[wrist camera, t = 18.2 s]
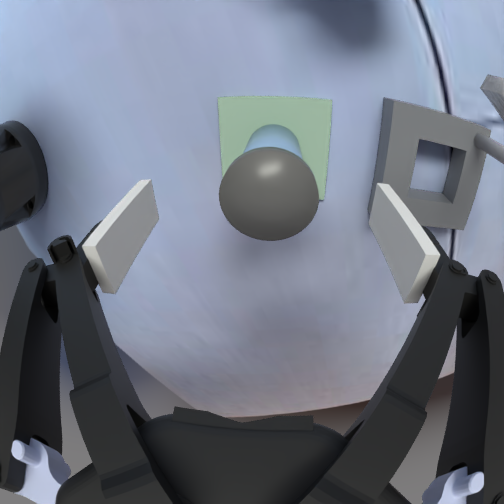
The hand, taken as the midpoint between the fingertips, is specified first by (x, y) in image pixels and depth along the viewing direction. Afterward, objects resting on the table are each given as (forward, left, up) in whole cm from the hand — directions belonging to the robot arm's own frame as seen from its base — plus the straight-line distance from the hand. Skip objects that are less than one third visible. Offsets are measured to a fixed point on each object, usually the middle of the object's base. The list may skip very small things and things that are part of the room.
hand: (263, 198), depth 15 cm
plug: (0, 0, -11) cm, 11 cm away
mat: (0, 0, -11) cm, 11 cm away
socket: (+16, 0, -11) cm, 20 cm away
